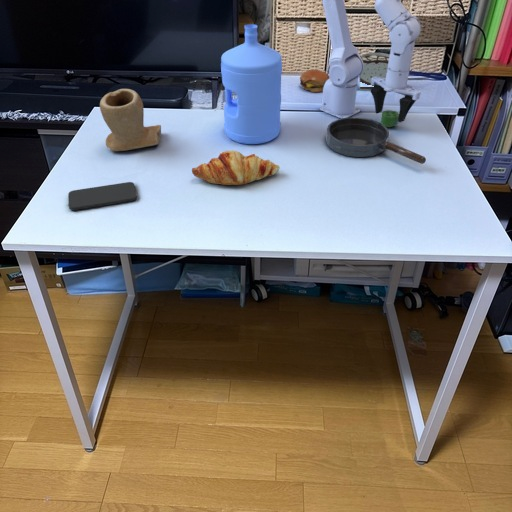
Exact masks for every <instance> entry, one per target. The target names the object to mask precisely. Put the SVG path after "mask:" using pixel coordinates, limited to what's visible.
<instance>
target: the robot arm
mask: <svg viewBox="0 0 512 512" xmlns="http://www.w3.org/2000/svg"><path fill="white" fill-rule="evenodd" d="M321 1H322V6H323V11H324V16H325V20H326V26H327V30H328V35H329V38H330V40H329V41H330V44H331V49H332V51H331V54H330V56H329V59H328V64H329V70H328V75H329V79H328V80H327V81H326V83H325V85H324V87H323V91H322V98H321V107H319V110H320V111H322V112H324V113H327V114H329V115H332V116H333V117H336V118H339V119H342V118H350V117H352V116H354V115H357V114H358V113H360V112H361V109H359V108H357V107H356V106H355V105H356V100H357V92H358V86H359V85H358V83H359V77H360V74H361V73H362V72H363V69H364V63H363V61H362V59H361V56H360V53H359V49H358V48H357V47H356V46H354V44H353V42H352V37H351V31H350V26H349V21H348V15H347V9H346V5H345V0H321ZM374 10H375V12H376V13H377V14H378V16H379V18H380V19H381V20H382V22H383V24H384V25H385V27H386V28H387V29H388V30H389V32H388V37H389V41H390V44H391V45H390V51H389V55H390V56H389V62H388V68H387V74H386V78H381V77H377V76H375V77H373V78H372V79H371V85H373V86H374V87H373V88H372V89H371V90H370V93H371V95H372V99H373V103H374V108H375V109H374V111H375V114H376V115H378V114H380V113H382V112H383V109H384V104H385V98H386V96H387V93H391V92H392V93H393V92H394V93H396V94H398V95H401V96H403V97H402V98H400V99H399V112H398V113H399V117H398V123H402V122H404V121H405V120H406V117H407V115H408V113H409V111H410V110H411V108H412V107H413V105H414V104H415V103H416V101H417V100H419V99H420V97H421V94H422V91H421V90H418V89H416V88H415V87H413V86H411V85H409V84H408V80H409V76H410V70H411V66H412V60H413V56H414V50H415V45H416V39H418V37H419V36H420V35H421V31H422V23H421V22H420V19H419V18H418V17H416V16H414V15H412V13H411V12H409V11H408V10H407V9H406V7H405V6H404V4H403V3H402V1H401V0H374Z"/></svg>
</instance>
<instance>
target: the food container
mask: <svg viewBox="0 0 512 512" xmlns="http://www.w3.org/2000/svg"><path fill="white" fill-rule="evenodd" d="M389 56H390V53H389V54H388V53H386V52H385V53H383V52H368V53H364V54H362V55H361V56H360V57H361V59H362V61H363V63H364V69H363V72H362V73H361V74H360V75H359V77H358V83H359V82H362V83H365V84H367V85H371V79H372V78H373V77H375V76H377V77H381V78H386V74H387V68H388V62H389ZM372 86H373V85H372ZM372 88H373V87H359V86H358V90H359V91H371V89H372Z"/></svg>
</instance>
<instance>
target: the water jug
mask: <svg viewBox="0 0 512 512" xmlns="http://www.w3.org/2000/svg"><path fill="white" fill-rule="evenodd" d="M258 35H259V33H258V25H257V24H252V23H249V24H248V23H247V24H244V42H243V43H242V44H239V45H237V46H234V47H232V48H230V49H228V50H226V51H225V52H223V53H222V55H221V57H220V62H221V63H220V70H221V82H222V85H223V87H224V95H225V96H224V97H225V104H224V106H223V118H224V122H223V131H224V133H225V135H226V136H227V137H228V138H229V139H230V140H232V141H233V142H236V143H240V144H244V145H259V144H265V143H268V142H270V141H272V140H274V139H276V138H277V137H278V136H279V135H280V132H281V105H282V73H283V62H282V61H283V59H282V55H281V53H280V52H279V51H278V50H276V49H273V48H271V47H269V46H267V45H264V44H263V43H262V44H261V43H259V41H258ZM232 92H233V93H235V94H236V98H233V93H232Z"/></svg>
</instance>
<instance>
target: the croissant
mask: <svg viewBox="0 0 512 512" xmlns="http://www.w3.org/2000/svg"><path fill="white" fill-rule="evenodd" d="M280 169H281V167H280V165H278V164H275V163H274V161H271V160H270V159H266V160H265V159H263V158H261V157H259V156H258V155H256V154H255V153H253V154H252V153H251V154H249V155H243V154H242V153H241V152H240V151H237V150H226V151H223V152H220V153H219V155H218V157H213V158H211V159H210V160H209V162H207V163H205V162H204V163H201V164H199V165H197V167H192V169H191V172H192V173H191V174H192V175H193V176H194V177H196V178H199V179H202V180H204V181H206V182H208V183H210V184H214V185H215V184H218V185H221V186H232V185H233V186H234V185H235V186H238V185H239V186H240V185H246V184H249V183H252V182H255V181H260V180H262V179H263V178H266V177H271V176H274V175H276V174H277V173H278V172H279V171H280Z"/></svg>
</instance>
